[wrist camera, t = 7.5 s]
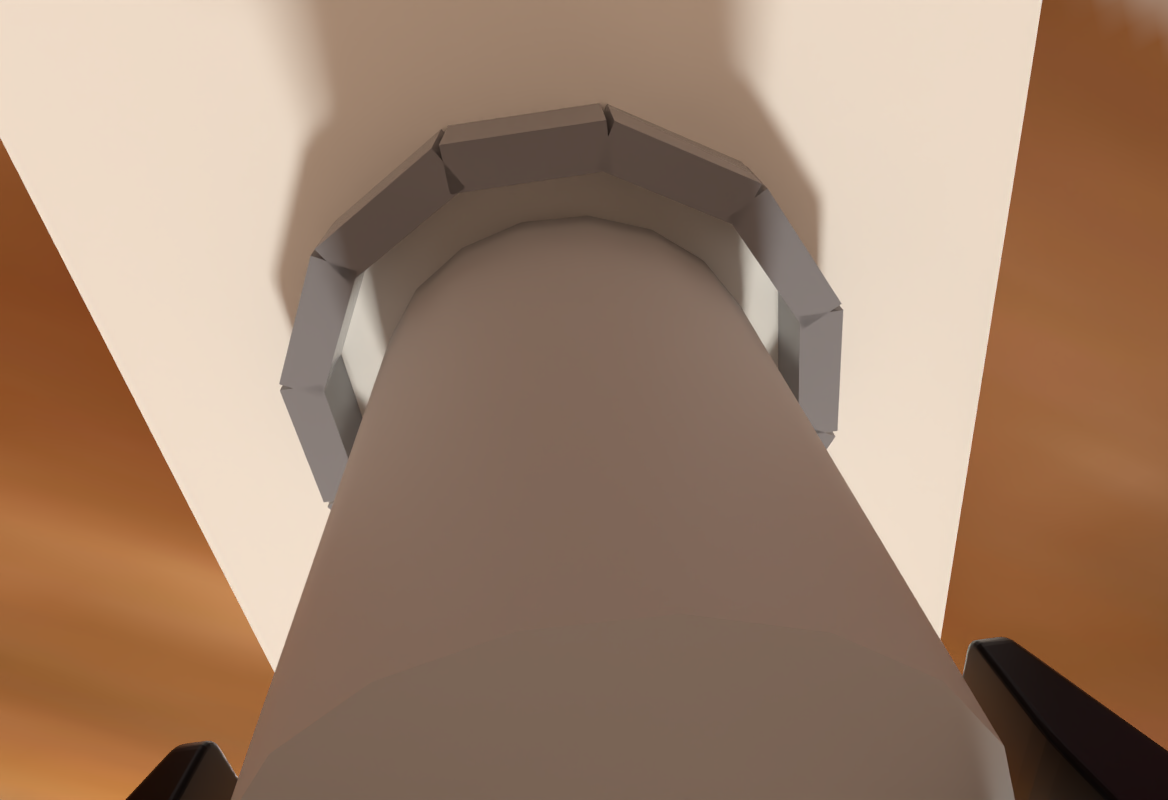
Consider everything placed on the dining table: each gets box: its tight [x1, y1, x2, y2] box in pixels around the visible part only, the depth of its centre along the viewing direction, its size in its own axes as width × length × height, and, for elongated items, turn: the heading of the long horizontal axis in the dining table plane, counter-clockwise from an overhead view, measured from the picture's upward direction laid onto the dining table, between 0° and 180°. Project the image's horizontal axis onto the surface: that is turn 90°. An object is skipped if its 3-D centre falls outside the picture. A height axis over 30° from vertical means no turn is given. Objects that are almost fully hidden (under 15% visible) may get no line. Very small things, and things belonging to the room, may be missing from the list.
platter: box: [0, 0, 1042, 672], centre depth 16 cm, size 18×20×2 cm
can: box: [231, 216, 1015, 800], centre depth 11 cm, size 8×8×12 cm
